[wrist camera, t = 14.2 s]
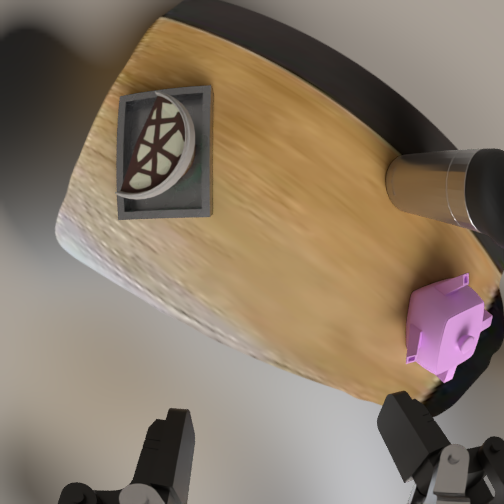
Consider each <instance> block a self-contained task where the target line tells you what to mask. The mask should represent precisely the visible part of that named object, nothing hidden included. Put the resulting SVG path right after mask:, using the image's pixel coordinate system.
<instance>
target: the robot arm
mask: <svg viewBox="0 0 504 504" xmlns="http://www.w3.org/2000/svg"><path fill="white" fill-rule="evenodd" d="M386 188H387V192H388V195H389V198H390V200H391V201H392V203H393V204H394V205H395V206H396V207H397V208H398V209H400V210H401V211H404V212H407V213H411V214H415V215H419V216H422V217H426V218H430V219H434V220H438V221H442V222H445V223H449V224H452V225H456V226H460V227H463V228H467V229H470V230H474V231H477V232H480V233H483V234H486V235H489V236H490V237H491V239H492V240H493V241H494V242H495V243H496V244H498V245H499V246H500V247H502V248H504V151H503V150H500V149H468V150H453V151H439V152H427V153H415V154H406V155H401V156H399V157H397V158H396V159H394V161H393V162H392V163H391V164H390V166H389V168H388V171H387V175H386ZM377 426H378V429H379V432H380V434H381V436H382V438H383V440H384V442H385V444H386V446H387V448H388V450H389V452H390V454H391V456H392V458H393V460H394V462H395V464H396V466H397V468H398V471H399V473H400V475H401V477H402V479H403V481H404V483H406V482H409V481H411V480H414V481H415V484H414V486H413V488H412V491H411V494H410V497H409V500H408V503H407V504H504V441H503V440H502V439H501V438H499V437H495V436H494V437H490V438H488V439H487V440H486V441H485V442H484V443H483V445H482V446H480V447H475V448H470V449H466V448H465V447H463V446H461V445H458V444H451V443H450V442H449V441H448V439H447V437H446V436H445V434H444V433H443V432H442V430H441V429H440V427H439V426H438V424H437V423H436V422H435V421H434V419H433V417H432V416H431V414H429V412H428V410H427V409H426V407H425V406H424V405H423V404H422V403H420V402H419V401H417V400H416V399H413V400H412V399H411V397H410V396H409V394H408V393H407V392H406V391H400V392H396V393H392V394H389V395H387V397H386V399H385V402H384V404H383V406H382V409H381V411H380V413H379V416H378V419H377ZM145 439H146V440H145V441H144V444H143V449H142V451H141V454H140V457H139V461H138V464H137V467H136V471H135V474H134V477H133V480H132V482H131V483H130V484H129V485H128V486H126V487H125V488H123V489H121V490H116V491H97V490H92V489H91V488H90V487H89V486H87V485H86V484H83V483H78V482H76V483H70V484H68V485H67V486H65V487H64V489H63V490H62V492H61V495H60V498H59V501H58V504H187V499H188V491H189V483H190V476H191V468H192V461H193V453H194V445H195V433H194V428H193V424H192V419H191V415H190V411H189V410H188V409H176V408H170V409H169V411H168V414H167V418H166V420H160V419H156V421H154V422H153V424H152V425H151V426H150V427H149V428H148V431H147V434H146V438H145ZM486 475H487V477H488V479H489V480H490V482H491V484H492V486H493V488H494V489H495V497H493V496H492V494H491V492H490V490H489V488H488V487H487V485H486V483H485V481H484V479H483V478H484V477H485V476H486Z"/></svg>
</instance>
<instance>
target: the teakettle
mask: <svg viewBox="0 0 504 504" xmlns="http://www.w3.org/2000/svg"><path fill="white" fill-rule="evenodd" d="M468 284H469V273H465V274H463V275H460V276H458V277H455V278H449V279H445V280H441V281H438V282H435V283H432V284H430V285H427V286H424V287H422V288H419V289H417V290H415V291H413V292H412V294H411V297H410V302H409V308H408V314H407V322H406V346H407V357H406V364H407V363H411V362H415V361H416V362H417V363H418V364H420V365H421V366H422V367H424V368H425V369H427V370H428V371H430V372H432V373H433V374H435V375H436V376H437V377H438V378H439V379H440V380H442V381H443V382H444V383H445V382H447V381H449V380H451V379H452V378H453V375H454V372H455V369H456V366H457V365H458V364H460V363H462V362H463V361H465V360H467V359H468V358H470V357H471V356H472V355H473V353H474V350H475V348H476V345H477V342H478V338H479V335H480V332H481V331H483V330H484V329H486V328H487V327H489V326H490V325H491V321H492V315H491V314H490V313H489V312H487V311H486V310H485V309H484V301H483V300H482V299H481V298H480V297H479V296H478V294H477V293H476V292H475V291H474V290H473V289H472V288H470V287H469V286H468Z"/></svg>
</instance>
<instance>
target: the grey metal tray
mask: <svg viewBox="0 0 504 504" xmlns="http://www.w3.org/2000/svg"><path fill="white" fill-rule="evenodd" d="M155 91H156V92H158V91H160V92H163V93H165V94H168V95H170V96H172V97H174V98H176V99H177V100H178V101H179V102H180V103H182V104H183V106H184V107H185V108H186V109H187V111H188V113H189V114H190V116H191V118H192V121H193V124H194V130H195V144H196V155H195V159H194V162H193V164H192V166H191V168H190V169H189V171H188V172H187V173H186V174H185V175H184V176H183V177H181V178H180V179H179V180H178V181H177V182H176V183H175V184H174V185H173V186H172V187H170V188H169V189H168V190H166V191H164V192H163V193H161V194H159V195H156V196H154V197H151V198H146V199H128V198H124V197H121V196H118V195H117V206H118V220H128V219H152V218H185V217H211V215H212V214H213V103H214V93H213V90H212V86H211V85H209V86H193V87H181V88H172V89H163V90H155ZM155 91H148V92H142V93H136V94H130V95H125V96H120V101H119V113H118V128H117V192H118V191H120V190H121V187H122V184H123V181H124V178H125V175H126V172H127V169H128V166H129V163H130V160H131V157H132V154H133V150H134V147H135V144H136V142H137V139H138V137H139V135H140V133H141V131H142V129H143V127H144V125H145V122H146V120H147V118H148V116H149V114H150V112H151V110H152V107H153V105H154V102H155V100H156V98H157V95H156V93H155Z"/></svg>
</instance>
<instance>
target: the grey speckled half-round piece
mask: <svg viewBox="0 0 504 504" xmlns="http://www.w3.org/2000/svg"><path fill="white" fill-rule="evenodd" d="M155 93H156V95H157V98H156V100H155V102H154V105H153V107H152V110H151V112H150V114H149V116H148V118H147V120H146V122H145V125H144V127H143V129H142V131H141V133H140V135H139V137H138V139H137V142H136V144H135V147H134V150H133V154H132V157H131V160H130V163H129V166H128V169H127V172H126V175H125V178H124V181H123V184H122V187H121V190H120V191H118V192H115V193H117V195H118V196H121V197H124V198H128V199H146V198H151V197H154V196H156V195H159V194H161V193H163V192H164V191H166V190H168V189H169V188H170V187H172V186H173V185H174V184H175V183H176V182H177V181H178V180H179V179H180V178H181V177H183V176H184V175H185V174H186V173H187V172H188V171H189V169H190V168H191V166H192V164H193V162H194V159H195V155H196V144H195V130H194V124H193V121H192V118H191V116H190V114H189V113H188V111H187V109H186V108H185V107H184V106H183V104H182V103H180V102H179V101H178V100H177V99H176V98H174V97H172V96H170V95H168V94H165V93H163V92H160V91H158V92H156V91H155Z"/></svg>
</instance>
